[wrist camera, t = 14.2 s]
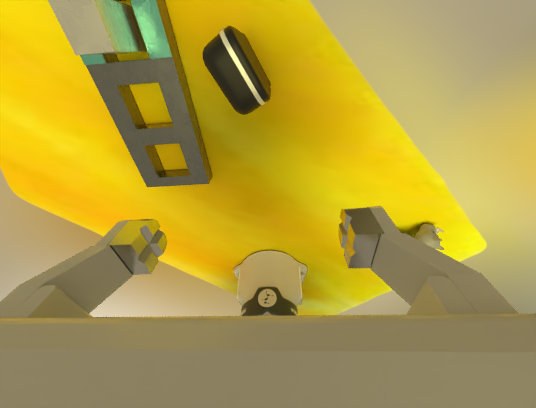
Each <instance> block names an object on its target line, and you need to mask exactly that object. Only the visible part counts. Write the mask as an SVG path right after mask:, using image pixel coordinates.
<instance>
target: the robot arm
mask: <svg viewBox="0 0 536 408" xmlns="http://www.w3.org/2000/svg"><path fill="white" fill-rule="evenodd" d="M340 218H341V220H342V223H341V224H339V240H340V244H341V247H343V248H344V249H345V252H344V256H345V259H346V262H347V265H348V268H371V270H372V271H373V272H375V273H376V274H377V275H378V276H379V277H380V278H381V279H382V280H383V281H384V282H385V283H386V284H388V285H389V286H390V287H391V288H392V289H393V290H394V291H395V292H396V293H397V294H399V295H400V296H401V297H402V298H403V299H404V300H405V301H406V302H407V303H409V305H410V306H411V308H410V310H409V311H408V313H407V315H305V316H298V313H297V305H301V304H302V299H303V295H302V283H303V280H304V277H305V275H306V272H307V266H306V265H304V264H301V263H299V262H297V261H296V260H295V259H294V258H292V257H291V256H289V255H287V254H285V253H282V252H278V251H261V252H257V253H254V254H252V255H250V256H248V257H247V258H246V259H245V260H244V261H243V263H242V264H240V265H238V266H236V267H235V268H234V274H235V276H236V278H237V279H238V289H237V300H239V303H240V304H242V311H241V316H197V317H196V316H195V317H194V316H189V317H92V316H91V315H89V313H90V312H91V311H92V310H94V309H95V308H96V307H97V306H98V305H99V304H101V303H102V302H103V301H104V300H105V299H106V298H107V297H109V296H110V295H111V294H112V293H113V292H114V291H116V290H117V289H118V288H119V287H120V286H121V285H123V284H124V283H125V282H126V281H127V280H128V279H130V278H131V277H132V275H137V274H151V273H152V271H153V270H154V268H155V266H156V264H157V263H158V257H159V256H160V255H162V254H163V253H164V251H165V249H166V245H167V239H166V236H165V234H164V233H163V232H162V231H160V230H159V228H160V225H159V223H158V221H157V220H154V219H142V220H122V221H119V222H118V223H117V224H116V225H115V226H114V227H113V228H112V229H111V230H110V231H109V232H108V233H107V234H106V235H105V236H104V237H103V238H102V239H101V240H100V241H99V242H98V243H97V244H96V245H95V246H93V247H89V248H87V249H85V250H84V251H82V252H80V253H78V254H76V255H75V256H72V257H71V258H69V259H67V260H65V261H63V262H61V263H60V264H58V265H56V266H54V267H52V268H50V269H48V270H47V271H45V272H43V273H41V274H39V275H37V276H35V277H34V278H32V279H30V280H28V281H26V282H24V283H23V284H20V285H19V286H18V287H17V288H16V289H14V290H13V291H12V292H11V293H10V294H9V295H8V296H7V297H5V298H4V299H3V300H2V301H1V302H0V408H536V314H519V313H518V312H517V311H516V310H515V309H514V308H513V307H512V306H511V305H510V304H509V303H508V301H507V300H506V299H505V298H504V297H503V296H502V295H501V294H500V293H499V292H498V291H497V290H496V289H495V288H494V287H493V285H492V284H491V283H490V282H489V281H488V280H487V279H486V278H485V277H484V276H483V275H482V274H481V273H479V272H477V271H475V270H473V269H471V268H469V267H467V266H466V265H464V264H462V263H460V262H458V261H456V260H454V259H453V258H451V257H449V256H447V255H445V254H443V253H441V252H439V251H438V250H436V249H434V248H432V247H430V246H428V245H426V244H425V243H423V242H421V241H419V240H417V239H415V238H413V237H411V236H410V235H408V234H406V233H400V231H399V230H398V228H397V227H396V226H395V224H394V223H393V221H392V220H391V219H390V217H389V216H388V214H387V213H386V212H385V210H384V209H383V207H381V206H375V207H367V208H351V209H342V210H341V214H340Z"/></svg>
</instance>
